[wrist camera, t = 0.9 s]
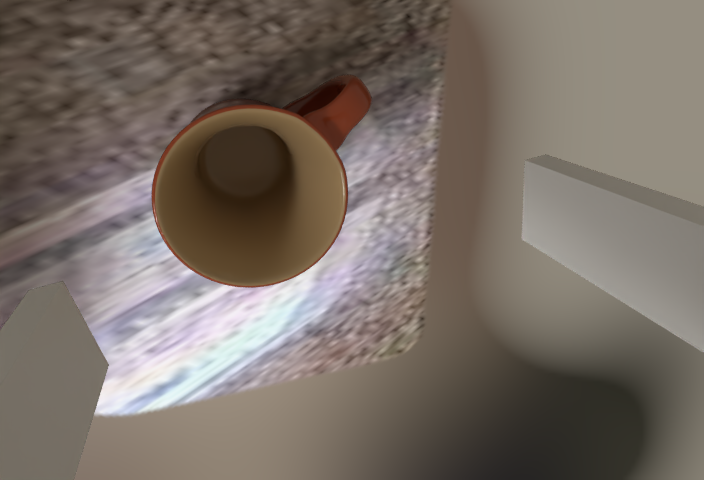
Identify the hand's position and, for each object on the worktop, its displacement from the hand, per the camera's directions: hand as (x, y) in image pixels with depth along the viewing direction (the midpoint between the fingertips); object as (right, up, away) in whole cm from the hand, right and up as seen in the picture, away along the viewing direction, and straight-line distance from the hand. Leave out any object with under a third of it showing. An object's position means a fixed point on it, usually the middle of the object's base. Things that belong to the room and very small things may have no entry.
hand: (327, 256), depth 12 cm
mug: (-5, +7, +16) cm, 19 cm away
